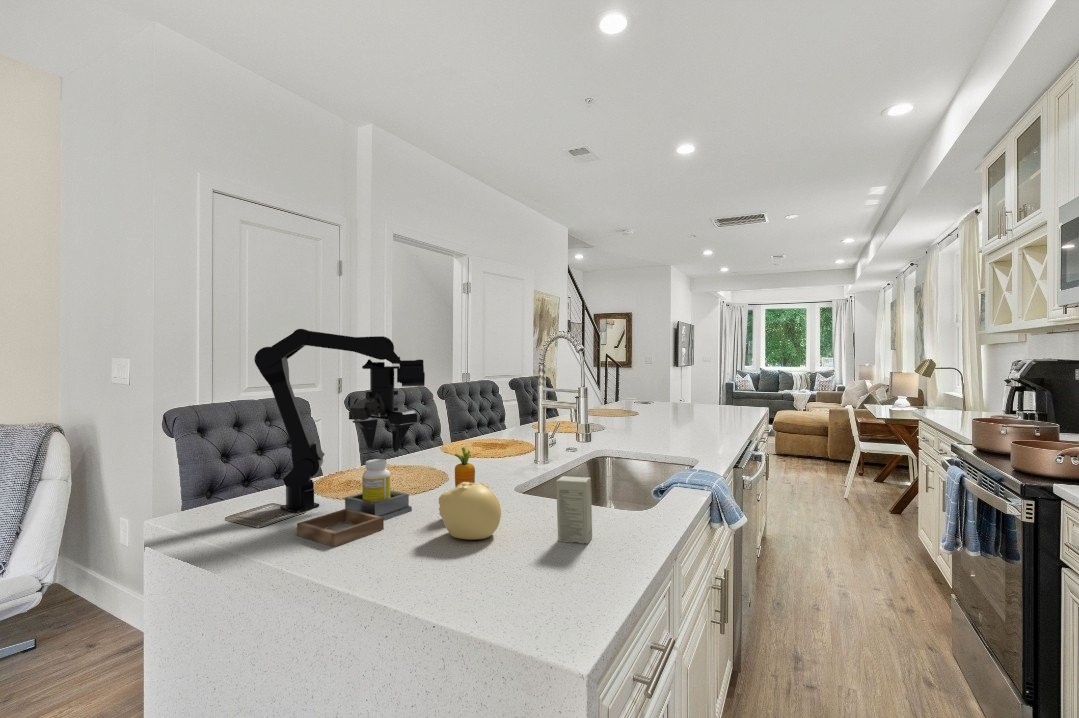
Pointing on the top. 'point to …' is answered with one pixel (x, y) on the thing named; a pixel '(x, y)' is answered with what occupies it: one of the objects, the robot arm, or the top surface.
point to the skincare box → (574, 509)
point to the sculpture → (470, 511)
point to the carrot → (464, 469)
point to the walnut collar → (364, 527)
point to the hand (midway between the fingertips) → (382, 449)
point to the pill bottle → (376, 481)
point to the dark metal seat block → (380, 505)
